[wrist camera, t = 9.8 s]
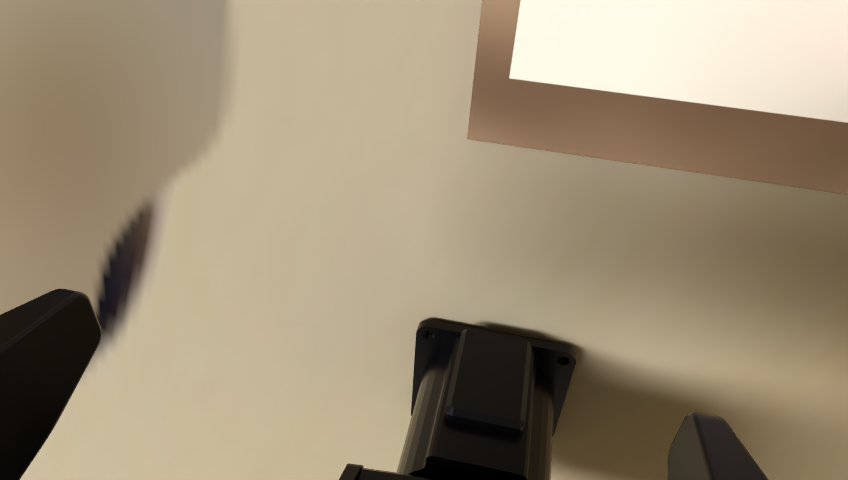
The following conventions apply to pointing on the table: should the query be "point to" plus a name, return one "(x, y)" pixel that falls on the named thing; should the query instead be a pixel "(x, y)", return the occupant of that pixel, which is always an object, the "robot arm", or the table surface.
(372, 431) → the table surface
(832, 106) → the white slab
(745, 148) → the brown flat board
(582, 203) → the table surface
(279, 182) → the table surface
